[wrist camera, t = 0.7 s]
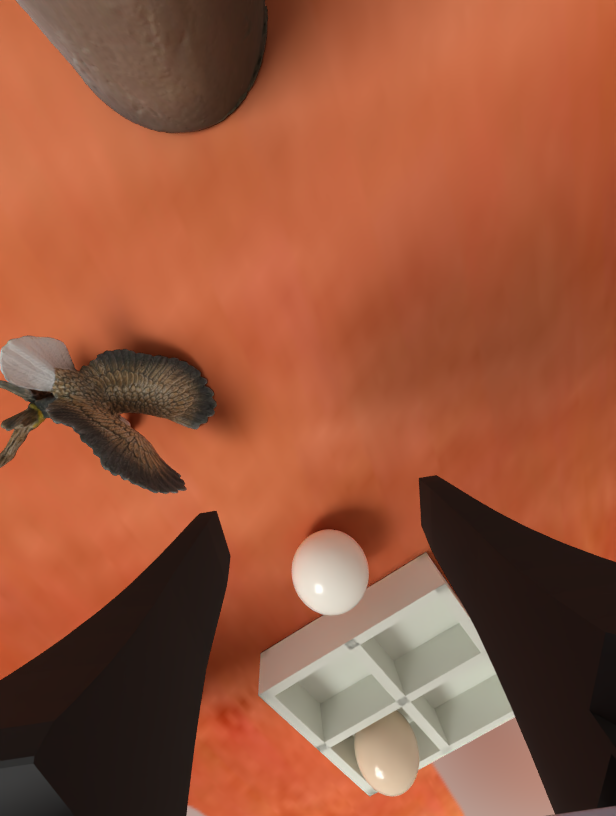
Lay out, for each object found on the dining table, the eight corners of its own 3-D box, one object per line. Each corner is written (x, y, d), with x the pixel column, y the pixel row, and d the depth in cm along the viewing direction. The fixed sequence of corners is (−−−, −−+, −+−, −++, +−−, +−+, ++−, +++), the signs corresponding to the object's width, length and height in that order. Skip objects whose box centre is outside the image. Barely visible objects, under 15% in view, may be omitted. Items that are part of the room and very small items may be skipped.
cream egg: (315, 584, 25) (324, 648, 20) (276, 539, 23) (275, 597, 19) (371, 549, 24) (393, 606, 19) (334, 501, 23) (349, 551, 18)
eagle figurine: (53, 478, 20) (198, 503, 19) (-84, 457, 13) (134, 496, 12) (99, 364, 22) (229, 383, 21) (4, 296, 15) (190, 322, 15)
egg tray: (361, 750, 30) (369, 796, 27) (260, 653, 26) (258, 695, 23) (507, 668, 29) (532, 707, 26) (426, 552, 25) (445, 583, 22)
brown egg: (367, 739, 29) (384, 822, 25) (337, 709, 28) (349, 790, 23) (415, 712, 29) (442, 791, 24) (387, 680, 28) (409, 757, 23)
